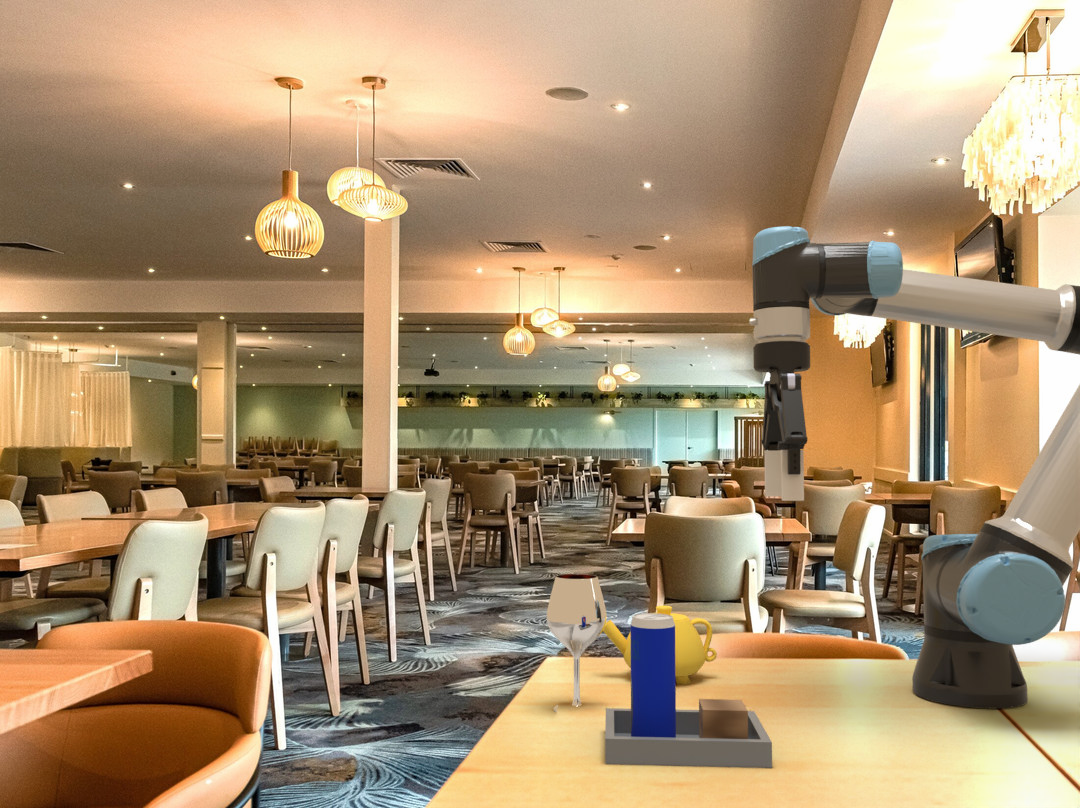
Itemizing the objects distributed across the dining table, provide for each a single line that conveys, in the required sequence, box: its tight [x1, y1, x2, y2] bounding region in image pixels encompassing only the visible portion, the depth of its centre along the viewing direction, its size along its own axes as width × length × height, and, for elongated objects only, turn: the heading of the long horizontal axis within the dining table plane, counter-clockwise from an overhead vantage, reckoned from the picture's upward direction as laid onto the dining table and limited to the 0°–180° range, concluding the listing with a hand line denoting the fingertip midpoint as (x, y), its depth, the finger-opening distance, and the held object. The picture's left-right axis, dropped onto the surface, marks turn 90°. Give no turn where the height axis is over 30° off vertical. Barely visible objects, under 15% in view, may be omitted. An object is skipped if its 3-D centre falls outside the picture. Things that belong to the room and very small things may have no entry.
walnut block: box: [698, 698, 749, 739], centre depth 112 cm, size 5×5×5 cm
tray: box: [604, 707, 773, 769], centre depth 112 cm, size 18×13×4 cm
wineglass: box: [546, 573, 608, 713], centre depth 133 cm, size 8×8×18 cm
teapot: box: [602, 605, 717, 685], centre depth 152 cm, size 14×14×11 cm
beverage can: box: [630, 612, 677, 738], centre depth 113 cm, size 5×5×15 cm
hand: (783, 498), depth 132 cm, fingers open, 13 cm apart
